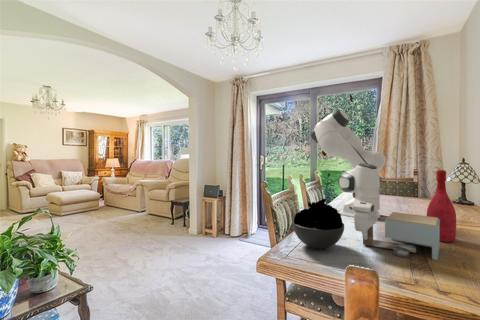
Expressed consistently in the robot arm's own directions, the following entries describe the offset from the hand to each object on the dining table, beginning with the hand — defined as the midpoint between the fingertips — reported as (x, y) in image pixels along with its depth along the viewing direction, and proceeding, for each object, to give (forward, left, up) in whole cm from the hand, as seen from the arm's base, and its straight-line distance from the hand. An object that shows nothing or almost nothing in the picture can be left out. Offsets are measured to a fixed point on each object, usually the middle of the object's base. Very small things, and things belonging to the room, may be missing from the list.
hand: (367, 237), depth 98 cm
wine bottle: (+22, +28, -4) cm, 36 cm away
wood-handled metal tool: (+7, +1, -3) cm, 8 cm away
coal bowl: (-15, -14, -4) cm, 21 cm away
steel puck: (+12, -2, -3) cm, 13 cm away
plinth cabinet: (+14, +8, -3) cm, 17 cm away
